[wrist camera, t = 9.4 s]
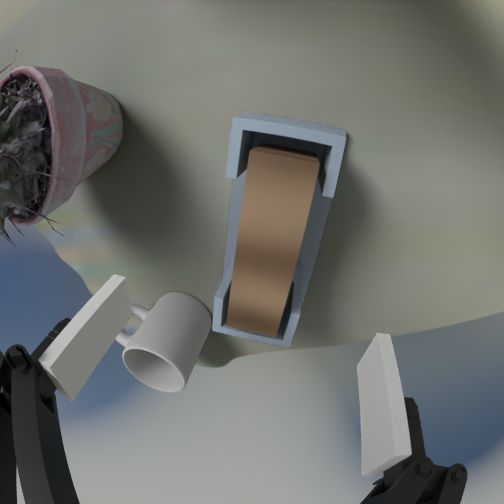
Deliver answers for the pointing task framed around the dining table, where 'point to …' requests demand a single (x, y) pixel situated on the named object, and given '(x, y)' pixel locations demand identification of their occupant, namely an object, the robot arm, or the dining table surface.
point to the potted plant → (50, 140)
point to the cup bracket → (330, 157)
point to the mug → (166, 341)
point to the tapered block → (270, 234)
